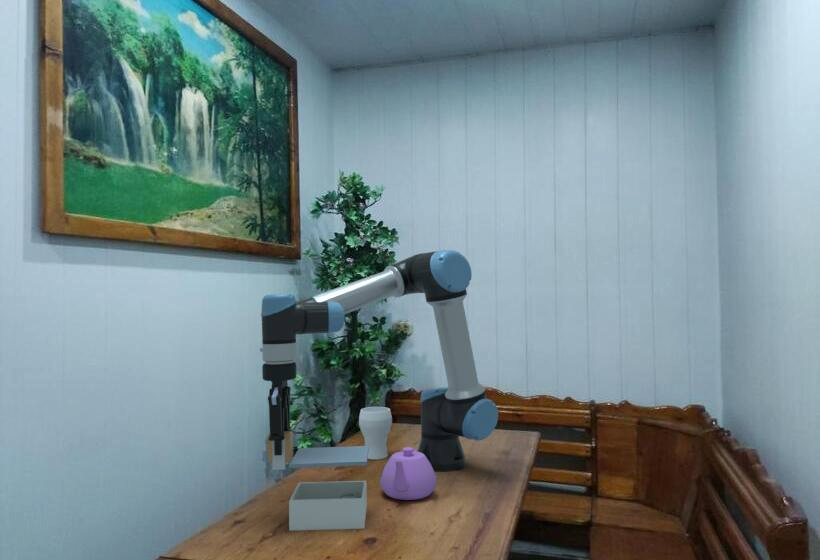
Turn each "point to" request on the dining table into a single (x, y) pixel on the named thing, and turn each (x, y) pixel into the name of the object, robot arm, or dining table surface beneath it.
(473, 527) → the dining table surface
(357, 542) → the dining table surface
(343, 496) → the slug
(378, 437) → the cup
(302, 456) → the lid
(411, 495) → the teapot
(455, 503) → the dining table surface
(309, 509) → the tub
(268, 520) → the dining table surface
